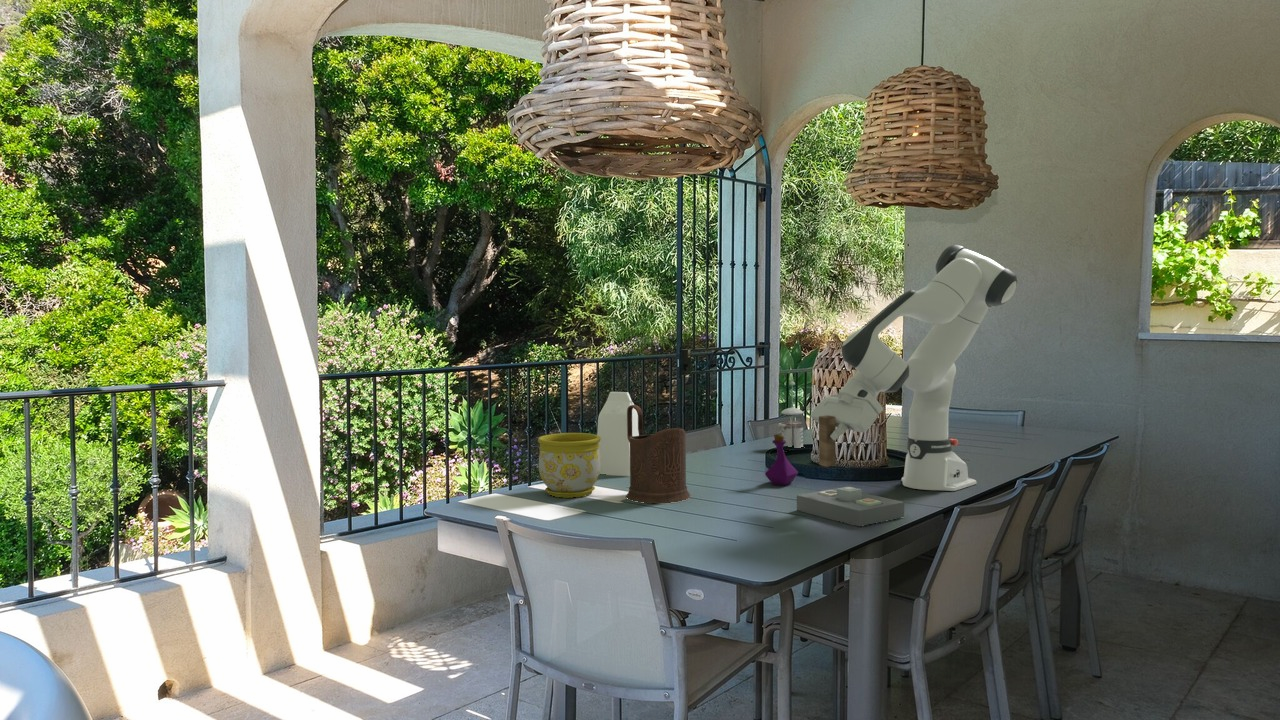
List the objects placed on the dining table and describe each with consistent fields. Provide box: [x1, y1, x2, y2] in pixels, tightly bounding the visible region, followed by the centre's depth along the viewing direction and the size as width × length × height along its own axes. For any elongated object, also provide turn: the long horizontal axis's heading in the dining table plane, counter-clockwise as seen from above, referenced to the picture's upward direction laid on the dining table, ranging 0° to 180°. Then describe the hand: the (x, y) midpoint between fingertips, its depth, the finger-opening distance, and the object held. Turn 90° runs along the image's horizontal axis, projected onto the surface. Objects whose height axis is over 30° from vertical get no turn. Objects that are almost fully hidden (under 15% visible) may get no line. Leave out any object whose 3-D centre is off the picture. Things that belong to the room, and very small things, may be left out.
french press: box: [780, 381, 804, 448], centre depth 337 cm, size 10×12×25 cm
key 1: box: [819, 489, 837, 497], centre depth 242 cm, size 4×4×4 cm
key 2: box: [856, 498, 881, 506], centre depth 231 cm, size 4×4×4 cm
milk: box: [596, 391, 639, 477], centre depth 297 cm, size 12×12×26 cm
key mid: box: [837, 486, 863, 502], centre depth 237 cm, size 4×4×4 cm
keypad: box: [796, 487, 905, 527], centre depth 237 cm, size 16×22×4 cm
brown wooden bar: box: [818, 415, 837, 468], centre depth 242 cm, size 3×3×13 cm
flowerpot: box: [537, 432, 601, 499], centre depth 265 cm, size 18×18×16 cm
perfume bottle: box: [764, 423, 799, 486], centre depth 275 cm, size 8×8×18 cm
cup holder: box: [625, 404, 691, 504], centre depth 262 cm, size 18×24×25 cm
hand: (825, 437), depth 242 cm, fingers closed on brown wooden bar, 3 cm apart
